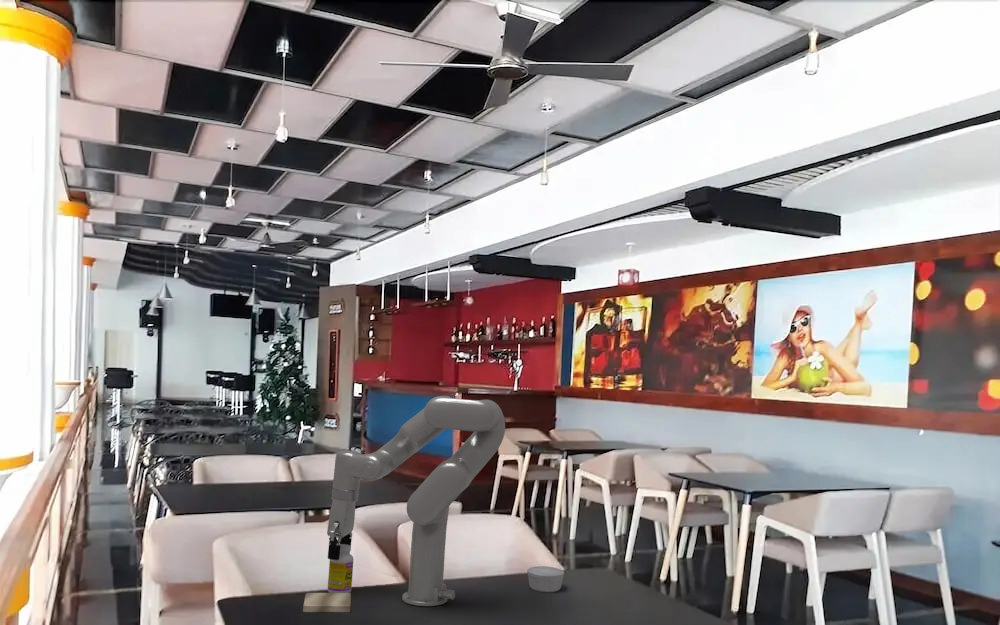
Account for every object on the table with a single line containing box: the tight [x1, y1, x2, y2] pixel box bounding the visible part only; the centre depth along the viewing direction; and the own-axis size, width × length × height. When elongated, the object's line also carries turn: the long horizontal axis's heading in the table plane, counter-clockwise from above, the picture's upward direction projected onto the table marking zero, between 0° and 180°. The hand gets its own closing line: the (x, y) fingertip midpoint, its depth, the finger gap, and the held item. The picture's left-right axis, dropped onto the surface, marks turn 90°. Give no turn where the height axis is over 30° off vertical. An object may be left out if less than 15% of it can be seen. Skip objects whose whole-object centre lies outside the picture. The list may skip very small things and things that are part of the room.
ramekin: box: [526, 565, 565, 593], centre depth 241 cm, size 11×11×5 cm
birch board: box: [302, 592, 352, 613], centre depth 212 cm, size 12×12×2 cm
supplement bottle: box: [327, 544, 354, 593], centre depth 225 cm, size 7×7×13 cm
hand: (339, 555), depth 226 cm, fingers open, 9 cm apart
